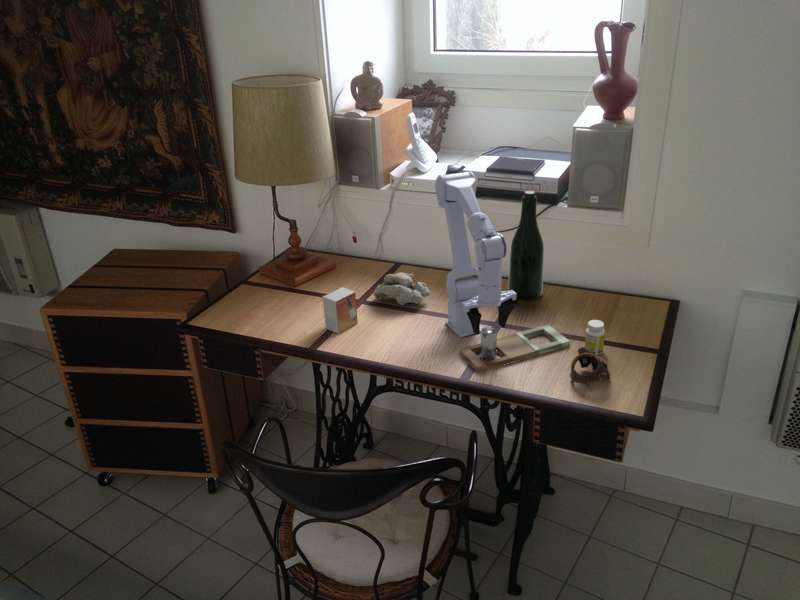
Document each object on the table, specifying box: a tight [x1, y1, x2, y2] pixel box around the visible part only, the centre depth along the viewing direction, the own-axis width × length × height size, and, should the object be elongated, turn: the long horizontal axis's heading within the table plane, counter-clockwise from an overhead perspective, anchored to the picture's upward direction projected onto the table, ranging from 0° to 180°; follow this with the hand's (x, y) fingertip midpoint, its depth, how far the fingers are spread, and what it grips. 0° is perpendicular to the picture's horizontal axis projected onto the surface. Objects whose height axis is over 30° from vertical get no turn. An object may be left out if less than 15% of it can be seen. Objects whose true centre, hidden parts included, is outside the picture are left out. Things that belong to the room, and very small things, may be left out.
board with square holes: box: [458, 324, 571, 373], centre depth 182 cm, size 10×28×2 cm, turn 114°
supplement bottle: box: [584, 319, 606, 356], centre depth 178 cm, size 5×5×8 cm
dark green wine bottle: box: [507, 190, 545, 302], centre depth 202 cm, size 10×10×33 cm
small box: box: [322, 286, 359, 335], centre depth 195 cm, size 8×6×10 cm
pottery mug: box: [569, 346, 611, 386], centre depth 168 cm, size 12×10×8 cm
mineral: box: [373, 271, 431, 306], centre depth 208 cm, size 12×17×10 cm
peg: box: [480, 326, 498, 362], centre depth 177 cm, size 4×4×8 cm
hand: (489, 329), depth 175 cm, fingers open, 7 cm apart
